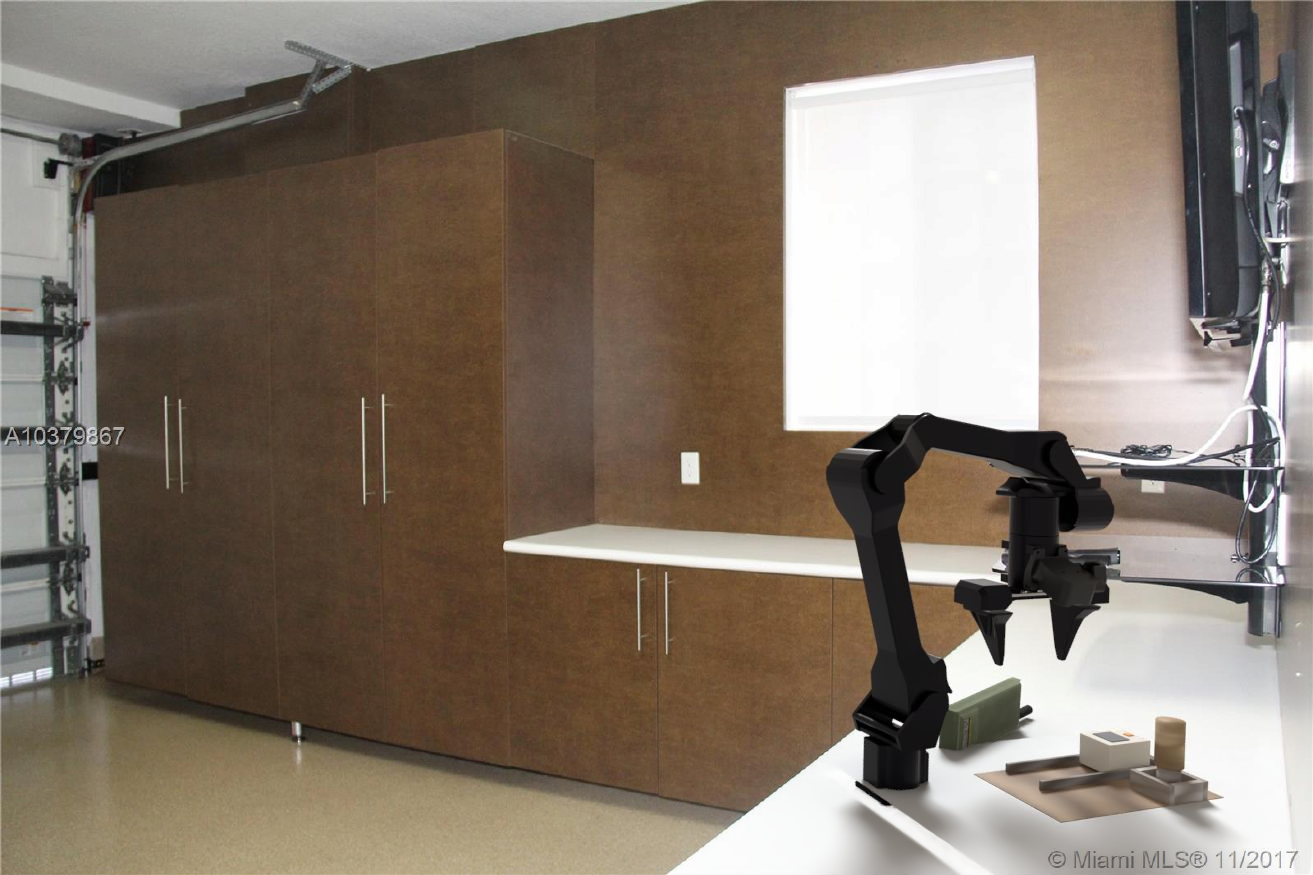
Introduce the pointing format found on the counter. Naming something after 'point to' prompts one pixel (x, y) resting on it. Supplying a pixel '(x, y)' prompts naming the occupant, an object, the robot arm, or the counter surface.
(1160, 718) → the tan rounded cylinder
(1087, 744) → the box
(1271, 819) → the counter surface
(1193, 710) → the counter surface
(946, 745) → the handheld radio
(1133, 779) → the board
